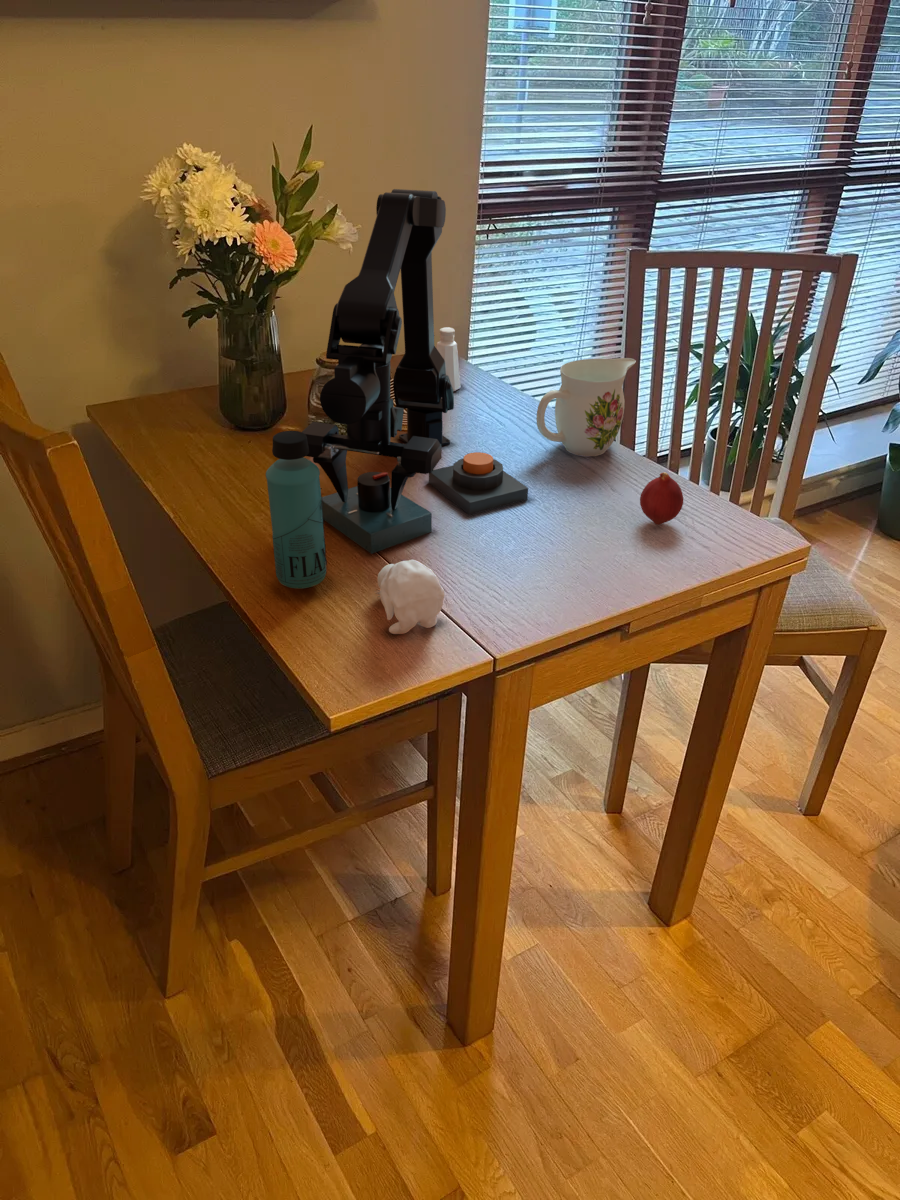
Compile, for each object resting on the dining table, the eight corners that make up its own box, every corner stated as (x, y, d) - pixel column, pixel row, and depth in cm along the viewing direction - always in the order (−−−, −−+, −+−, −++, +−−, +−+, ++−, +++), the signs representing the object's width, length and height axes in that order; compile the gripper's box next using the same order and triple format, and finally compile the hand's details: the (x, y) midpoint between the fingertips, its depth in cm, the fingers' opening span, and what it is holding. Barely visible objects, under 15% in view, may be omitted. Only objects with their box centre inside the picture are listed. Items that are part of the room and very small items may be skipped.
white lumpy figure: (393, 580, 99) (359, 539, 109) (397, 648, 103) (364, 602, 113) (447, 569, 101) (409, 529, 111) (449, 636, 105) (412, 592, 115)
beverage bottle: (286, 604, 111) (271, 451, 100) (269, 579, 116) (252, 430, 105) (336, 592, 114) (327, 441, 103) (317, 567, 118) (306, 420, 108)
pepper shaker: (429, 391, 172) (429, 332, 166) (434, 381, 177) (435, 323, 171) (458, 393, 171) (459, 334, 165) (462, 383, 176) (464, 325, 170)
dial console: (319, 517, 130) (318, 497, 128) (378, 497, 135) (377, 478, 134) (371, 554, 122) (370, 533, 120) (431, 532, 127) (431, 511, 125)
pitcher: (516, 447, 151) (520, 365, 144) (604, 428, 159) (613, 349, 151) (554, 473, 143) (560, 388, 136) (645, 451, 151) (656, 369, 143)
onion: (653, 510, 133) (660, 459, 129) (687, 524, 130) (696, 472, 125) (629, 523, 130) (636, 471, 125) (663, 538, 126) (671, 485, 122)
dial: (370, 515, 124) (369, 486, 122) (352, 503, 127) (350, 475, 125) (396, 506, 126) (396, 477, 124) (378, 494, 129) (377, 466, 127)
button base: (428, 482, 140) (428, 458, 138) (484, 469, 144) (485, 445, 142) (469, 515, 131) (470, 490, 129) (527, 500, 135) (529, 475, 133)
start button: (457, 466, 136) (457, 455, 135) (482, 460, 138) (483, 449, 137) (473, 478, 133) (473, 466, 132) (498, 471, 135) (499, 460, 134)
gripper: (454, 384, 123) (450, 490, 131) (323, 368, 127) (327, 471, 135) (431, 413, 114) (428, 525, 122) (291, 394, 118) (297, 504, 126)
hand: (369, 504), depth 127 cm, fingers open, 7 cm apart
